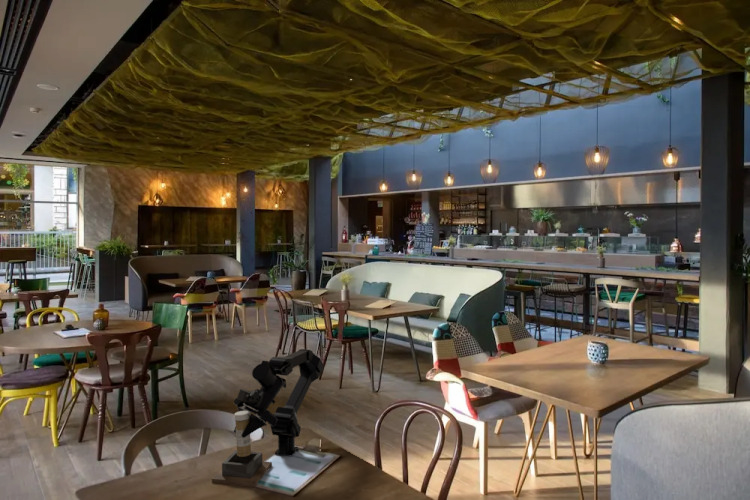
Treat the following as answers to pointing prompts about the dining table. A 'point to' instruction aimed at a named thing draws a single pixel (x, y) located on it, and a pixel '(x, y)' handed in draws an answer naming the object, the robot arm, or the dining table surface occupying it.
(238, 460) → the socket board
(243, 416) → the sprinkles bottle
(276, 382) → the robot arm
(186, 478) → the dining table surface
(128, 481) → the dining table surface
